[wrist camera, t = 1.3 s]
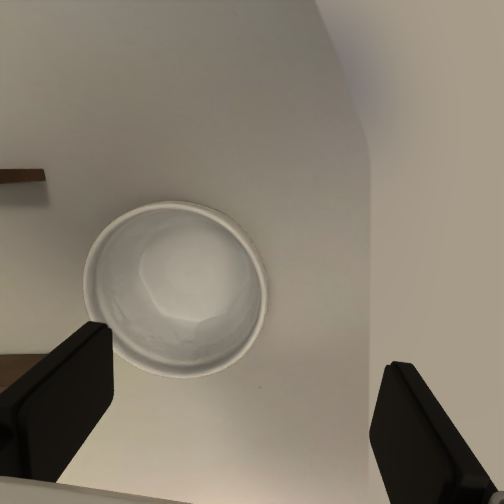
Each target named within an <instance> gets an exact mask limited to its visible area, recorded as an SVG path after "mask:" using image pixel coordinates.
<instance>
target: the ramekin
mask: <svg viewBox="0 0 504 504" xmlns="http://www.w3.org/2000/svg"><path fill="white" fill-rule="evenodd" d="M83 296H84V301H85V306H86V309H87V313H88V315H89V318H90V320H91V321H94V322H101V323H106V324H107V325H108V328H111V329H112V332H113V351H114V352H115V353H116V354H117V355H118V356H119V357H121V358H122V359H124V360H125V361H126V362H128V363H130V364H131V365H133V366H135V367H137V368H139V369H141V370H143V371H146V372H148V373H151V374H154V375H158V376H162V377H168V378H177V379H189V378H198V377H203V376H208V375H211V374H214V373H217V372H219V371H221V370H223V369H225V368H227V367H229V366H231V365H232V364H234V363H235V362H236V361H238V360H239V359H240V358H241V357H242V356H243V355H244V354H245V353H246V352H247V351H248V350H249V349H250V348H251V346H252V345H253V344H254V342H255V341H256V339H257V337H258V335H259V333H260V331H261V328H262V326H263V323H264V319H265V315H266V311H267V305H268V283H267V276H266V272H265V268H264V265H263V262H262V260H261V257H260V255H259V253H258V251H257V250H256V248H255V246H254V245H253V242H252V240H251V239H250V238H249V237H248V235H247V233H246V232H245V231H244V230H243V229H242V228H241V226H240V225H239V224H237V223H235V221H234V220H233V219H231V218H229V217H227V216H226V215H225V214H224V213H220V212H218V211H217V210H215V209H211V208H208V207H206V206H203V205H199V204H195V203H190V202H185V201H161V202H155V203H150V204H146V205H143V206H140V207H138V208H135V209H133V210H131V211H129V212H126V213H125V214H123V215H121V216H120V217H118V218H117V219H115V220H114V221H113V222H111V223H110V224H109V225H108V226H107V227H106V228H105V229H104V230H103V231H102V232H101V233H100V234H99V236H98V237H97V239H96V240H95V242H94V243H93V245H92V247H91V249H90V251H89V254H88V256H87V259H86V263H85V267H84V273H83Z"/></svg>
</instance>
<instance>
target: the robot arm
mask: <svg viewBox="0 0 504 504" xmlns="http://www.w3.org/2000/svg"><path fill="white" fill-rule="evenodd" d="M113 396H114V375H113V332H112V329H111V328H108V325H107V324H106V323H101V322H94V321H88V322H87V323H86V324H84V325H83V326H82V327H81V328H79V329H78V330H77V331H76V332H75V333H73V334H72V335H71V336H70V337H68V338H67V339H66V340H65V341H64V342H62V343H61V344H60V345H59V346H57V347H56V348H55V349H54V350H53V351H51V352H50V353H49V354H48V355H47V356H45V357H44V358H43V359H42V360H40V361H39V362H38V363H37V364H36V365H34V366H33V367H32V368H31V369H29V370H28V371H27V372H26V373H25V374H23V375H22V376H21V377H20V378H18V379H17V380H16V381H15V382H14V383H12V384H11V385H10V386H9V387H8V388H6V389H5V390H4V391H3V392H1V393H0V504H191V503H185V502H178V501H172V500H166V499H159V498H153V497H146V496H140V495H133V494H127V493H120V492H113V491H107V490H100V489H94V488H87V487H80V486H74V485H67V484H60V483H56V481H57V480H58V479H59V477H60V476H61V474H62V473H63V471H64V470H65V469H66V467H67V466H68V464H69V463H70V461H71V460H72V459H73V457H74V456H75V454H76V453H77V451H78V450H79V449H80V447H81V446H82V444H83V443H84V441H85V440H86V439H87V437H88V436H89V434H90V433H91V431H92V430H93V429H94V427H95V426H96V424H97V423H98V422H99V420H100V419H101V417H102V416H103V414H104V413H105V412H106V410H107V409H108V407H109V406H110V404H111V402H112V400H113ZM369 438H370V443H371V446H372V449H373V452H374V455H375V458H376V461H377V464H378V467H379V470H380V473H381V476H382V479H383V482H384V485H385V488H386V491H387V494H388V497H389V500H390V503H391V504H504V491H498V490H497V488H496V487H495V485H494V484H493V482H492V481H491V480H490V477H489V476H488V474H487V473H486V472H485V470H484V468H483V467H482V465H481V464H480V463H479V461H478V460H477V458H476V457H475V455H474V454H473V452H472V451H471V449H470V448H469V446H468V445H467V443H466V442H465V440H464V439H463V437H462V436H461V435H460V433H459V432H458V430H457V429H456V427H455V426H454V424H453V423H452V421H451V420H450V418H449V417H448V415H447V414H446V412H445V411H444V409H443V408H442V406H441V405H440V404H439V402H438V401H437V399H436V398H435V397H434V395H433V393H432V392H431V390H430V389H429V387H428V386H427V384H426V383H425V381H424V380H423V379H422V377H421V376H420V374H419V373H418V371H417V370H416V368H415V367H414V365H413V364H411V363H404V362H397V361H393V362H392V363H391V365H386V367H385V370H384V374H383V378H382V382H381V386H380V390H379V394H378V398H377V402H376V406H375V410H374V415H373V418H372V422H371V426H370V431H369Z"/></svg>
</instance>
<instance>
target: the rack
mask: <svg viewBox="0 0 504 504" xmlns="http://www.w3.org/2000/svg"><path fill="white" fill-rule="evenodd" d="M32 181H45V175H44V171H43V169H0V184H4V183H18V182H32ZM47 355H48V354H24V355H0V393H1V392H3V391H4V390H5V389H6V388H8V387H9V386H10V385H11V384H12V383H14V382H15V381H16V380H17V379H18V378H20V377H21V376H22V375H23V374H25V373H26V372H27V371H28V370H29V369H31V368H32V367H33V366H34V365H36V364H37V363H38V362H39V361H40V360H42V359H43V358H44V357H45V356H47Z"/></svg>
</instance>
